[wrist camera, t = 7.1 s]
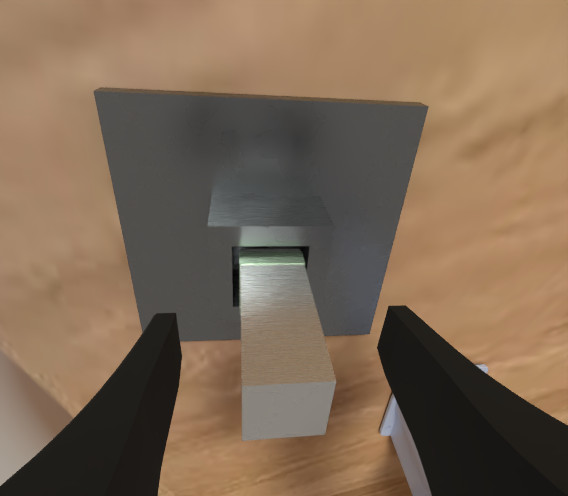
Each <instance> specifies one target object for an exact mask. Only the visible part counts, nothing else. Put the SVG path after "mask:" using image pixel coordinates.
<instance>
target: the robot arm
mask: <svg viewBox="0 0 568 496" xmlns="http://www.w3.org/2000/svg"><path fill="white" fill-rule="evenodd" d="M377 349H378V352H379V356H380V360H381V363H382V366H383V370H384V373H385V376H386V378H387V381H388V383H389V385H390V388H391V390H392V392H393V393H392V396H391V399H390V401H389V404H388V407H387V410H386V413H385V416H384V419H383V422H382V424H381V427H380V434H381V435H382V436H389V435H390V436H391V438H392V441H393V444H394V447H395V449H396V452H397V455H398V457H399V460H400V463H401V465H402V468H403V471H404V474H405V476H406V479H407V482H408V484H409V487H410V490H411V493H412V495H413V496H568V425H566V424H564V423H562V422H561V421H559V420H557V419H555V418H554V417H552V416H550V415H549V414H547V413H545V412H544V411H542V410H540V409H539V408H537V407H535V406H534V405H532V404H530V403H529V402H527V401H526V400H524V399H523V398H521V397H519V396H518V395H516V394H515V393H513V392H512V391H511V390H509V389H508V388H506V387H505V386H503V385H502V384H500V383H499V382H497V381H496V380H495V379H493V378H492V377H490V376H489V375H488V374H487V372H488V368H487V366H486V365H484V364H478V365H475V364H473V363H472V362H471V361H470V360H468V359H467V358H466V357H465V356H463V355H462V354H461V353H460V352H458V351H457V350H456V349H455V348H454V347H452V346H451V345H450V344H449V343H448V342H447V341H445V340H444V339H443V338H442V337H441V336H440V335H439V334H437V333H436V332H435V331H434V330H433V329H432V328H431V327H429V326H428V325H427V324H426V323H425V322H424V321H423V320H422V319H420V318H419V317H418V316H417V315H416V314H415V313H414V312H413V311H411V310H410V309H409V308H408V307H407V306H389V307H388V310H387V314H386V318H385V321H384V325H383V328H382V332H381V335H380V339H379V342H378V346H377ZM181 360H182V354H181V346H180V339H179V331H178V324H177V316H176V313H156V314H155V315H154V316H153V318H152V319H151V321H150V322H149V324H148V326H147V327H146V329H145V330H144V332H143V333H142V335H141V336H140V338H139V339H138V341H137V342H136V344H135V345H134V346H133V348H132V349H131V351H130V352H129V353H128V355H127V356H126V357H125V359H124V360H123V361H122V363H121V364H120V365H119V367H118V368H117V369H116V371H115V372H114V373H113V374H112V376H111V377H110V378H109V379H108V380H107V382H106V383H105V384H104V385H103V387H102V388H101V389H100V390H99V391H98V393H97V394H96V395H95V396H94V397H93V398H92V399H91V401H90V402H89V403H88V404H87V405H86V406H85V407H84V408H83V409H82V410H81V411H80V412H79V414H78V415H77V416H76V417H75V418H74V419H73V420H72V421H71V422H70V423H69V424H68V425H67V426H66V427H65V428H64V429H63V430H62V431H61V432H60V433H59V434H58V435H57V436H56V437H55V438H54V439H53V440H52V441H51V442H50V443H49V444H48V445H46V446H45V447H44V448H43V449H42V450H41V451H40V452H39V453H38V454H37V455H36V456H35V457H33V458H32V459H31V460H30V461H29V462H28V463H27V464H25V465H24V466H23V467H22V468H21V469H20V470H19V471H17V472H16V473H15V474H14V475H13V476H12V477H10V478H9V479H8V480H7V481H6V482H5V483H3V484H2V485H1V486H0V496H157V495H158V487H159V479H160V472H161V466H162V461H163V455H164V451H165V446H166V442H167V437H168V433H169V428H170V424H171V419H172V415H173V410H174V406H175V401H176V397H177V392H178V387H179V379H180V370H181Z"/></svg>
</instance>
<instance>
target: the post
mask: <svg viewBox="0 0 568 496" xmlns="http://www.w3.org/2000/svg"><path fill="white" fill-rule="evenodd" d="M239 309H240V314H241V393H242V441H246V440H260V439H273V438H287V437H301V436H314V435H325V432H326V428H327V423H328V418H329V414H330V409H331V404H332V400H333V395H334V390H335V385H336V378H335V374H334V370H333V367H332V363H331V360H330V356H329V352H328V349H327V345H326V341H325V338H324V334H323V331H322V327H321V323H320V320H319V316H318V313H317V309H316V305H315V302H314V298H313V294H312V291H311V287H310V284H309V280H308V276H307V273H306V269H305V260H304V257H303V253H302V252H301V251H300V248H245V249H240V252H239Z"/></svg>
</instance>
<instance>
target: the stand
mask: <svg viewBox="0 0 568 496" xmlns="http://www.w3.org/2000/svg"><path fill="white" fill-rule="evenodd" d="M94 95H95V100H96V105H97V110H98V115H99V120H100V125H101V130H102V135H103V140H104V145H105V150H106V155H107V159H108V164H109V169H110V174H111V179H112V184H113V189H114V194H115V199H116V204H117V209H118V214H119V219H120V224H121V229H122V234H123V238H124V243H125V248H126V253H127V258H128V263H129V268H130V273H131V278H132V283H133V288H134V293H135V298H136V303H137V308H138V312H139V317H140V322H141V327H142V332H144V330H145V329H146V327H147V326H148V324H149V322H150V321H151V319H152V318H153V316H154V315H155V314H156V313H176V316H177V324H178V331H179V339H180V341H204V340H230V339H241V314H240V309H239V252H240V249H245V248H300V251H301V252H302V253H303V257H304V260H305V269H306V273H307V276H308V280H309V284H310V287H311V291H312V294H313V298H314V302H315V305H316V309H317V313H318V316H319V320H320V323H321V327H322V331H323V334H324V336H335V335H362V334H370V330H371V326H372V322H373V318H374V314H375V310H376V307H377V303H378V299H379V295H380V291H381V287H382V284H383V280H384V276H385V272H386V268H387V264H388V260H389V257H390V253H391V249H392V245H393V241H394V237H395V233H396V230H397V226H398V222H399V218H400V214H401V210H402V207H403V203H404V199H405V195H406V191H407V187H408V183H409V180H410V176H411V172H412V168H413V164H414V160H415V156H416V153H417V149H418V145H419V141H420V137H421V133H422V130H423V126H424V122H425V118H426V114H427V110H428V106H426V105H424V104H422V103H417V102H396V101H375V100H354V99H332V98H311V97H290V96H269V95H248V94H227V93H205V92H184V91H163V90H142V89H121V88H99V89H97V90H95V91H94Z"/></svg>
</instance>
